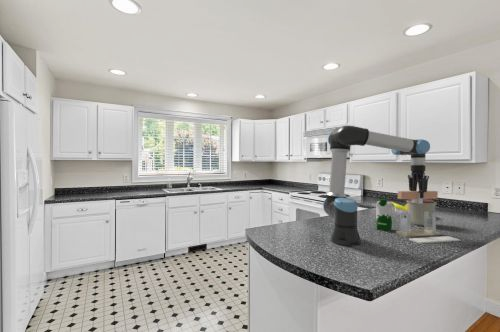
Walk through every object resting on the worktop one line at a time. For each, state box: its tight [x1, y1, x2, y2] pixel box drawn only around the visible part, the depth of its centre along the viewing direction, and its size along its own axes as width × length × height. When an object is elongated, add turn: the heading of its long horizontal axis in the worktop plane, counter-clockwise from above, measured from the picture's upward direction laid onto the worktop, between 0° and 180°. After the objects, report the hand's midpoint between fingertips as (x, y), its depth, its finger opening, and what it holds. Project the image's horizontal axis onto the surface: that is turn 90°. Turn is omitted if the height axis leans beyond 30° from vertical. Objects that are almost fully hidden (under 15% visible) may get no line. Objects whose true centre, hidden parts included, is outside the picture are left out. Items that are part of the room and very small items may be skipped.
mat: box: [408, 235, 461, 245], centre depth 142 cm, size 27×7×1 cm, turn 102°
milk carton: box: [375, 198, 393, 232], centre depth 166 cm, size 9×9×20 cm
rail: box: [397, 190, 439, 200], centre depth 155 cm, size 26×3×4 cm, turn 102°
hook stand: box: [395, 212, 441, 238], centre depth 155 cm, size 24×8×13 cm, turn 102°
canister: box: [405, 199, 437, 227], centre depth 182 cm, size 18×18×21 cm
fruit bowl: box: [391, 201, 409, 217], centre depth 213 cm, size 28×27×11 cm
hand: (417, 202), depth 155 cm, fingers closed on rail, 3 cm apart
